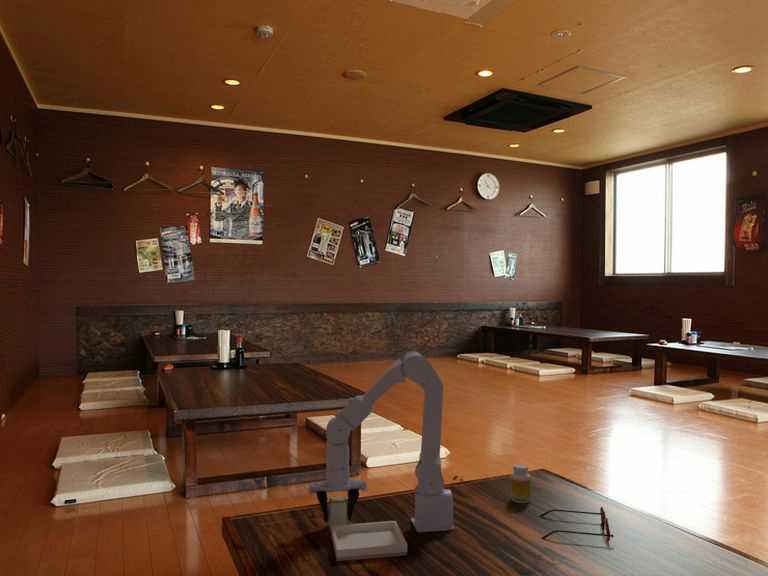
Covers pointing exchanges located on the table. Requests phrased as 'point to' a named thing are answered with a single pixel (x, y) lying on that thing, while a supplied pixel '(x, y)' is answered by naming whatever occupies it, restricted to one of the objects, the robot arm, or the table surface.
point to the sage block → (337, 511)
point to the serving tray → (368, 540)
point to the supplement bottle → (520, 484)
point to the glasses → (583, 532)
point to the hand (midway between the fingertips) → (337, 519)
